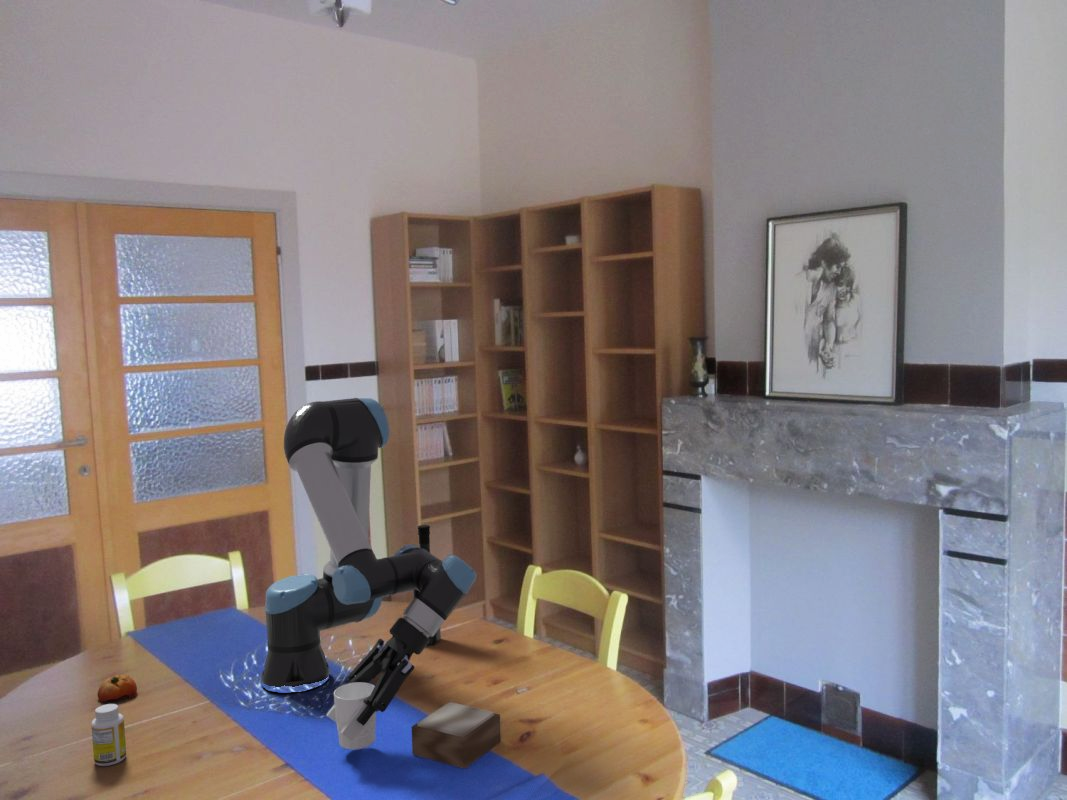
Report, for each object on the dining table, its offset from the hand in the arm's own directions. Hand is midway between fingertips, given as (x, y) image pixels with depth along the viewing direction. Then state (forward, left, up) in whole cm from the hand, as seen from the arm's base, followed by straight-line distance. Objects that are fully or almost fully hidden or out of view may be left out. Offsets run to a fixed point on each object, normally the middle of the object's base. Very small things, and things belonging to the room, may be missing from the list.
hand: (338, 727), depth 167 cm
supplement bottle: (-38, -21, -6) cm, 44 cm away
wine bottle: (-22, +57, -6) cm, 62 cm away
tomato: (-64, -1, -6) cm, 65 cm away
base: (+18, +13, -6) cm, 23 cm away
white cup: (+2, +3, -4) cm, 5 cm away
